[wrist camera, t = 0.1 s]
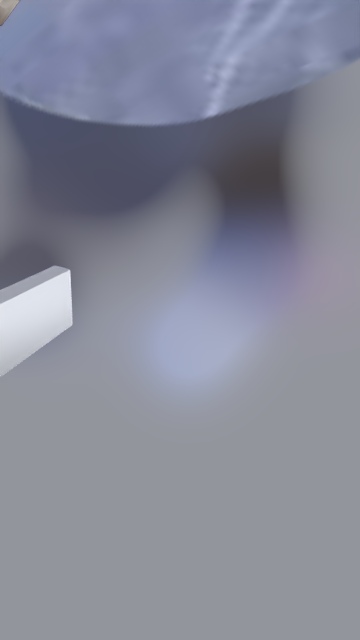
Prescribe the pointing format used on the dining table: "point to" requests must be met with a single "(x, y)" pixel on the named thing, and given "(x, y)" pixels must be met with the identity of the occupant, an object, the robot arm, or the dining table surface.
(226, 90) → the dining table surface
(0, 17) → the divided wooden sorting tray
